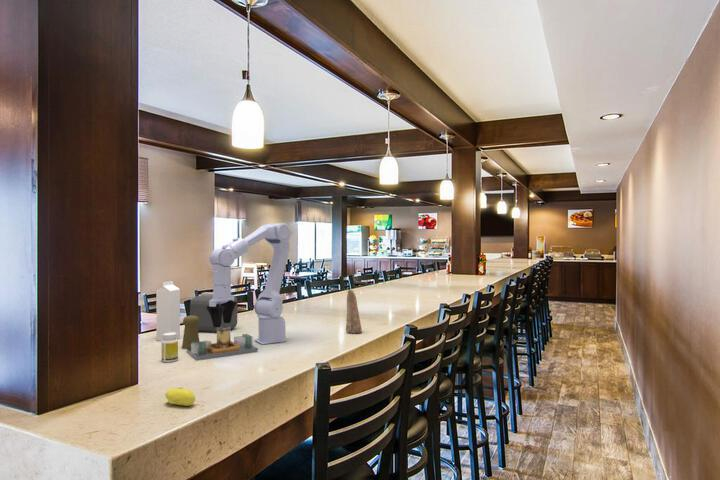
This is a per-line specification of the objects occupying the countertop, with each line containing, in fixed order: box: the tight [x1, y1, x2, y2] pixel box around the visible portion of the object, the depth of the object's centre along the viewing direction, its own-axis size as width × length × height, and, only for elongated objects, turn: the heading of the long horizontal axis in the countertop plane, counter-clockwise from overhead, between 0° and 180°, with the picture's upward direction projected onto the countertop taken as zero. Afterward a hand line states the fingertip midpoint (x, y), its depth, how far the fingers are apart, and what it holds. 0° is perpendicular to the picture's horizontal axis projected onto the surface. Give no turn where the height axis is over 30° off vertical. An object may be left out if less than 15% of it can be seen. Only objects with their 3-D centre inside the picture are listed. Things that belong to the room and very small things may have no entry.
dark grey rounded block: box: [189, 291, 238, 333], centre depth 192 cm, size 16×11×16 cm
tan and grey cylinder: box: [216, 326, 232, 348], centre depth 155 cm, size 5×5×7 cm
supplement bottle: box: [161, 333, 179, 363], centre depth 144 cm, size 5×5×8 cm
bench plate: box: [186, 333, 259, 361], centre depth 155 cm, size 20×13×5 cm, turn 124°
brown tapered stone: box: [345, 289, 362, 335], centre depth 186 cm, size 6×18×6 cm
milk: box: [155, 280, 181, 342], centre depth 175 cm, size 6×6×22 cm
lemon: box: [164, 387, 196, 407], centre depth 106 cm, size 4×8×4 cm, turn 64°
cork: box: [181, 315, 200, 350], centre depth 162 cm, size 6×6×11 cm
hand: (222, 325), depth 155 cm, fingers open, 7 cm apart
